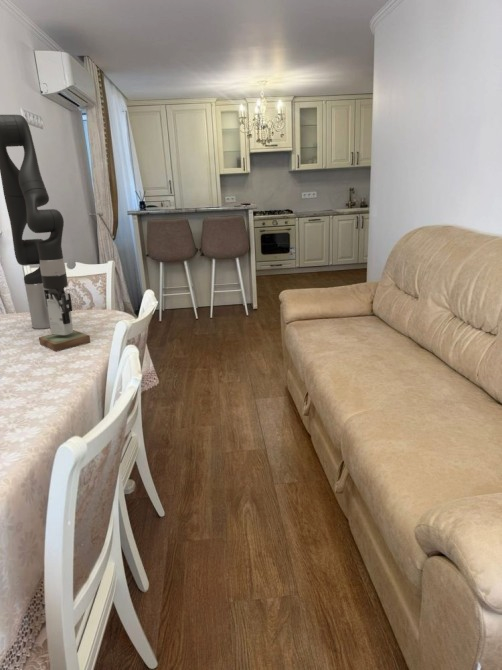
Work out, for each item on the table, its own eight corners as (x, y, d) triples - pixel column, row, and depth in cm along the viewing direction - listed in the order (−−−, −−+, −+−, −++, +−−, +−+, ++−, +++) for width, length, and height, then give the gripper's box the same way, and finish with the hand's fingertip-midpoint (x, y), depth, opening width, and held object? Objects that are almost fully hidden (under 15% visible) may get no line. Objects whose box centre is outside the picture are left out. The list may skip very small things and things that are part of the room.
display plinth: (39, 344, 152) (38, 337, 151) (73, 335, 161) (72, 329, 160) (56, 351, 144) (55, 344, 144) (90, 342, 153) (89, 335, 152)
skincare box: (50, 334, 150) (44, 299, 146) (60, 330, 154) (54, 296, 151) (65, 335, 148) (60, 300, 145) (74, 331, 152) (69, 297, 149)
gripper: (32, 272, 147) (40, 320, 152) (52, 276, 138) (60, 328, 143) (54, 269, 152) (62, 316, 157) (75, 273, 143) (82, 322, 148)
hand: (61, 321), depth 150 cm, fingers closed on skincare box, 7 cm apart
